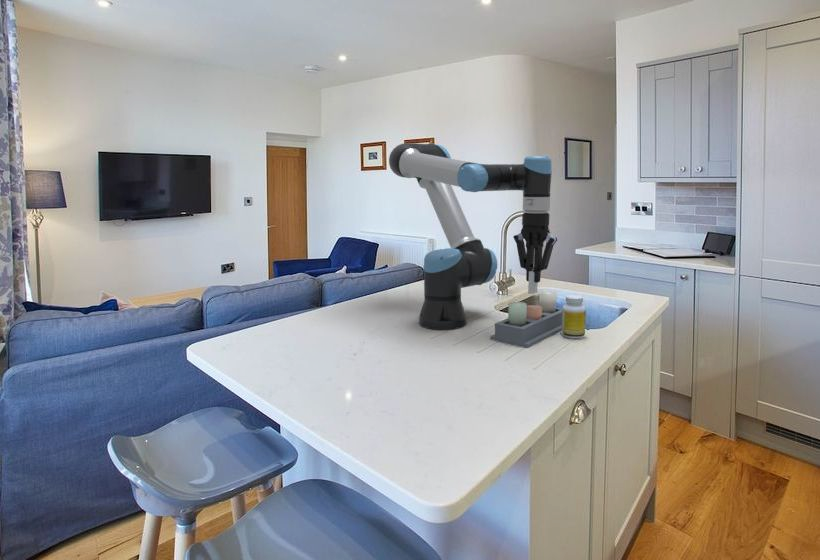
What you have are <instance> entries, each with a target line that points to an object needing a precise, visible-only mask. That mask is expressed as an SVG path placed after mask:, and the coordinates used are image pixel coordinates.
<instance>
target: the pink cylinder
mask: <svg viewBox="0 0 820 560" xmlns="http://www.w3.org/2000/svg"><path fill="white" fill-rule="evenodd" d="M526 318H529V319H535V320H538V319H541V318H542V307H541V306H539V305H533V304H530V305H529V304H528V305H527V314H526Z"/></svg>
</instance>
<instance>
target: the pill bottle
mask: <svg viewBox="0 0 820 560" xmlns="http://www.w3.org/2000/svg"><path fill="white" fill-rule="evenodd" d="M565 302H566V303H565V304H563V306H562V307H561V308H562V331H560V333H561V335H562V337H564V338H568V339H574V340H575V339H582V338H584V337H585V333H586V332H585V331H586V316H587V315H586V314H587V312H586V311H587V310H586V306H585V305H583V302H584V297H583V296H581V295H577V294H576V295H575V294H572V295H571V294H569V295H566V296H565Z"/></svg>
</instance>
